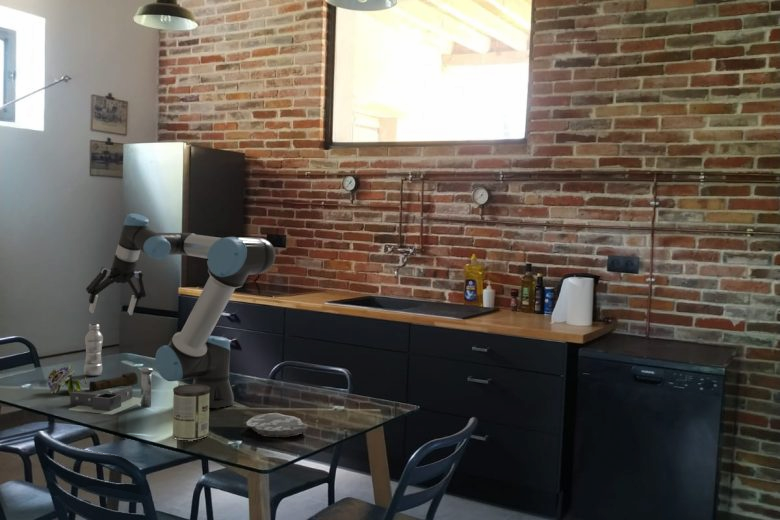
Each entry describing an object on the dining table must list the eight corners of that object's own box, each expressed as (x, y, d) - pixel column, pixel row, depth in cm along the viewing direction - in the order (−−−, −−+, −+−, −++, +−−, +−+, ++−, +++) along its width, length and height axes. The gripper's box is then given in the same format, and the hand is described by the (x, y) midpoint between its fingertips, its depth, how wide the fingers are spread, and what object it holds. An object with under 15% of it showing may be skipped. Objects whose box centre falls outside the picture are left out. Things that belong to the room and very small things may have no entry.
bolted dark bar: (132, 397, 245) (133, 386, 245) (115, 405, 235) (115, 392, 235) (129, 397, 245) (129, 386, 245) (111, 404, 235) (111, 392, 235)
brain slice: (233, 429, 217) (233, 419, 217) (279, 420, 229) (279, 411, 229) (270, 445, 204) (271, 435, 203) (317, 435, 215) (318, 425, 215)
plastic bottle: (84, 374, 280) (85, 323, 279) (103, 373, 282) (104, 323, 281) (82, 377, 274) (83, 325, 273) (101, 377, 276) (102, 325, 275)
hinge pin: (154, 406, 238) (155, 367, 237) (147, 409, 234) (148, 370, 233) (143, 405, 238) (144, 366, 238) (137, 408, 235) (138, 369, 234)
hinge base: (121, 406, 234) (121, 394, 234) (109, 411, 228) (110, 398, 228) (77, 401, 238) (77, 389, 238) (65, 406, 232) (65, 394, 232)
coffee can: (177, 430, 213) (178, 383, 212) (212, 431, 214) (213, 384, 213) (167, 441, 203) (168, 391, 202) (204, 442, 203) (205, 393, 203)
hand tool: (94, 393, 252) (95, 380, 252) (88, 391, 255) (88, 378, 255) (141, 385, 268) (142, 372, 267) (135, 383, 270) (135, 371, 270)
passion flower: (53, 410, 248) (37, 380, 250) (81, 398, 256) (66, 369, 258) (65, 397, 241) (49, 366, 243) (94, 386, 250) (78, 356, 252)
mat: (148, 400, 245) (149, 398, 245) (112, 416, 225) (112, 414, 225) (107, 395, 249) (107, 394, 249) (67, 411, 228) (67, 409, 228)
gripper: (157, 256, 257) (141, 309, 262) (86, 249, 240) (71, 305, 246) (164, 265, 252) (148, 318, 257) (93, 258, 235) (77, 315, 240)
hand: (110, 312), depth 251 cm, fingers open, 13 cm apart
